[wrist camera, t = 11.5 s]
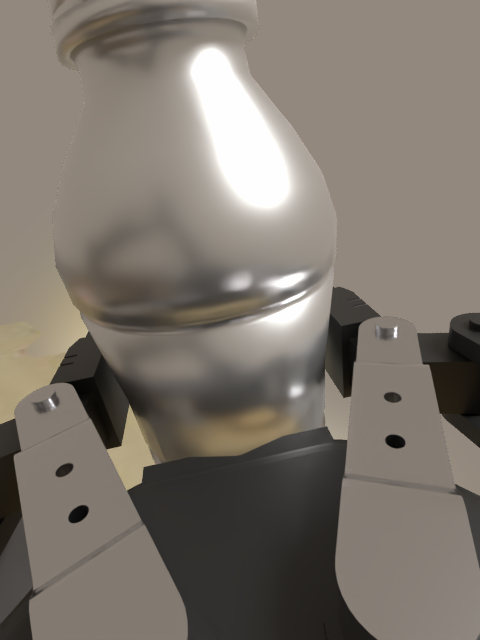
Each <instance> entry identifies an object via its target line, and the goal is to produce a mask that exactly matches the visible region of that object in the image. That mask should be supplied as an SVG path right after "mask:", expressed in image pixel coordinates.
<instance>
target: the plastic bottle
mask: <svg viewBox="0 0 480 640" xmlns="http://www.w3.org/2000/svg"><path fill="white" fill-rule="evenodd" d="M47 2H48V6H49V9H50V12H51V16H52V20H53V24H52V25H51V36H52V40H53V43H54V47H55V50H56V53H57V57H58V60H59V62H60V63H61V64H62V65H63V66H65V67H67V68H69V69H73V70H77V71H79V73H80V76H81V82H82V89H83V97H84V104H83V108H82V110H81V113H80V116H79V120H78V123H77V126H76V129H75V132H74V135H73V138H72V141H71V144H70V147H69V150H68V153H67V156H66V159H65V162H64V165H63V169H62V174H61V178H60V183H59V188H58V193H57V197H56V202H55V206H54V211H53V216H52V224H53V237H54V250H55V262H56V268H57V270H58V272H59V275H60V277H61V279H62V281H63V283H64V285H65V287H66V289H67V292H68V294H69V296H70V298H71V300H72V302H73V304H74V306H75V307H76V308H77V309H78V310H79V311H80V314H81V318H82V320H83V322H84V323H85V325H86V327H87V329H88V330H89V332H90V334H91V336H92V337H93V339H94V341H95V343H96V345H97V346H98V348H99V350H100V352H101V353H102V355H103V357H104V359H105V360H106V362H107V364H108V366H109V367H110V369H111V371H112V373H113V375H114V376H115V378H116V380H117V382H118V383H119V385H120V387H121V389H122V390H123V392H124V394H125V396H126V397H127V399H128V401H129V403H130V406H131V408H132V410H133V413H134V415H135V417H136V420H137V422H138V425H139V427H140V429H141V432H142V434H143V436H144V439H145V441H146V443H147V444H148V446H149V449H150V452H151V455H152V457H153V460H154V462H155V464H160V463H165V462H169V461H174V460H178V459H183V458H187V457H213V456H238V455H242V454H244V453H246V452H249V451H251V450H253V449H255V448H257V447H260V446H262V445H264V444H266V443H269V442H271V441H273V440H275V439H277V438H280V437H282V436H285V435H290V434H294V433H299V432H303V431H308V430H312V429H317V428H321V427H325V416H324V409H325V355H326V346H327V336H328V326H329V317H330V307H331V298H332V288H333V279H334V268H333V264H334V261H335V258H336V234H337V215H336V212H335V209H334V206H333V203H332V200H331V197H330V194H329V191H328V188H327V186H326V182H325V180H324V177H323V174H322V172H321V170H320V168H319V167H318V165H317V164H316V162H315V161H314V159H313V158H312V156H311V155H310V153H309V151H308V150H307V148H306V147H305V145H304V144H303V143H302V141H301V139H300V138H299V136H298V135H297V133H296V131H295V130H294V128H293V127H292V126H291V125H290V124H289V122H288V121H287V120H286V118H285V117H284V116H283V115H282V113H281V112H280V111H279V110H278V109H277V107H276V106H275V105H274V104H273V102H272V101H271V100H270V99H269V98H268V96H267V95H266V94H265V92H264V91H263V90H262V89H261V88H260V86H259V85H258V84H257V82H256V81H255V80H254V79H253V78H252V76H251V74H250V70H249V66H248V62H247V58H246V54H245V48H244V44H246V43H247V42H249V41H251V40H252V39H253V38H254V37H255V36H256V35H257V33H258V31H259V25H258V15H257V4H256V0H47Z"/></svg>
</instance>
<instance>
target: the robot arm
mask: <svg viewBox="0 0 480 640" xmlns="http://www.w3.org/2000/svg"><path fill="white" fill-rule="evenodd" d="M64 358H65V359H63V360H62V362H61V364H60V367H59V368H58V370H57V372H56V374H55V375H54V377H53V379H52V381H51V383H50V385H48V386H45V387H42V388H40V389H38V390H36V391H34V392H32V393H30V394H29V395H27V396H26V397H25V398H23V399H22V400H21V401H20V402H19V404H18V405H17V406H16V408H15V411H14V414H15V419H12V420H10V421H8V422H5V423H3V424H0V556H1V554H2V552H3V550H4V549H5V547H6V545H7V543H8V541H9V540H10V538H11V536H12V534H13V532H14V530H15V529H16V527H17V525H18V523H19V521H20V520H21V518H22V516H23V522H24V528H25V535H26V541H27V548H28V554H29V561H30V567H31V574H32V580H33V588H32V589H31V590H30V591H29V592H28V593H27V594H26V596H25V597H24V598H23V599H22V600H21V601H20V602H19V604H18V605H17V606H16V607H15V608H14V609H13V610H12V612H11V613H10V614H9V615H8V616H7V617H6V618H5V620H4V621H3V622H2V623H1V624H0V640H480V496H479V495H477V494H475V493H472V492H470V491H468V490H466V489H464V488H462V487H460V486H458V485H456V484H454V479H453V475H452V470H451V465H450V460H449V456H448V451H447V446H446V441H445V436H444V432H443V427H442V422H441V417H440V414H442V416H443V417H444V418H445V419H446V420H447V421H448V422H449V423H451V424H452V425H453V426H454V427H455V428H457V429H458V430H459V431H460V432H461V433H463V434H464V435H465V436H466V437H467V438H469V439H470V440H471V441H472V442H473V443H475V444H476V445H477V446H478V447H479V448H480V313H468V314H462V315H459V316H456V317H454V318H453V319H452V320H451V322H450V330H449V333H417V331H416V328H415V326H414V325H413V324H412V323H411V322H409V321H407V320H404V319H401V318H397V317H381V316H380V315H379V314H378V313H376V312H375V311H374V310H373V309H372V308H371V307H370V306H368V305H366V303H365V302H364V301H363V300H362V299H360V298H359V297H358V296H357V295H356V294H355V293H354V292H352V291H350V290H347V289H344V288H341V287H337V288H334V287H333V288H332V298H331V307H330V317H329V326H328V336H327V346H326V355H325V369H326V371H327V372H328V374H329V376H330V377H331V379H332V380H333V382H334V383H335V385H336V386H337V388H338V389H339V391H340V393H341V394H342V396H343V398H345V397H350V396H351V405H350V416H349V428H348V440H334V439H333V438H332V436H331V434H330V432H329V430H328V428H327V427H321V428H317V429H312V430H308V431H303V432H299V433H294V434H290V435H285V436H282V437H280V438H277V439H275V440H273V441H271V442H269V443H266V444H264V445H262V446H260V447H257V448H255V449H253V450H251V451H249V452H246V453H244V454H242V455H238V456H213V457H187V458H183V459H178V460H174V461H169V462H165V463H160V464H156V465H151V466H147V467H144V469H143V478H142V483H141V484H139V485H137V486H135V487H133V488H131V489H129V490H126V488H125V486H124V484H123V482H122V480H121V478H120V476H119V474H118V472H117V470H116V468H115V466H114V464H113V462H112V460H111V458H110V456H109V454H108V452H107V450H106V449H110V448H114V447H119V446H121V444H122V439H123V434H124V429H125V424H126V418H127V413H128V408H129V401H128V399H127V397H126V396H125V394H124V392H123V390H122V389H121V387H120V385H119V383H118V382H117V380H116V378H115V376H114V375H113V373H112V371H111V369H110V367H109V366H108V364H107V362H106V360H105V359H104V357H103V355H102V353H101V352H100V350H99V348H98V346H97V345H96V343H95V341H94V339H93V337H92V336H91V334H90V332H89V331H88V334H87V336H86V337H85V338H80V339H79V340H78V341H77V342H75V343H74V344H73V345H72V346H71V347H70V348H69V349H68V351H67V353H66V355H65V357H64Z"/></svg>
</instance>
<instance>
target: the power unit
mask: <svg viewBox="0 0 480 640" xmlns="http://www.w3.org/2000/svg"><path fill="white" fill-rule="evenodd" d="M32 588H33V580H32V574H31V567H30V561H29V554H28V548H27V541H26V535H25V528H24V522H23V516H22V518H21V520H20V521H19V523H18V525H17V527H16V529H15V530H14V532H13V534H12V536H11V538H10V540H9V541H8V543H7V545H6V547H5V549H4V550H3V552H2V554H1V556H0V624H1V623H2V622H3V621H4V620H5V618H6V617H7V616H8V615H9V614H10V613H11V612H12V610H13V609H14V608H15V607H16V606H17V605H18V604H19V602H20V601H21V600H22V599H23V598H24V597H25V596H26V594H27V593H28V592H29V591H30V590H31V589H32Z"/></svg>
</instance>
